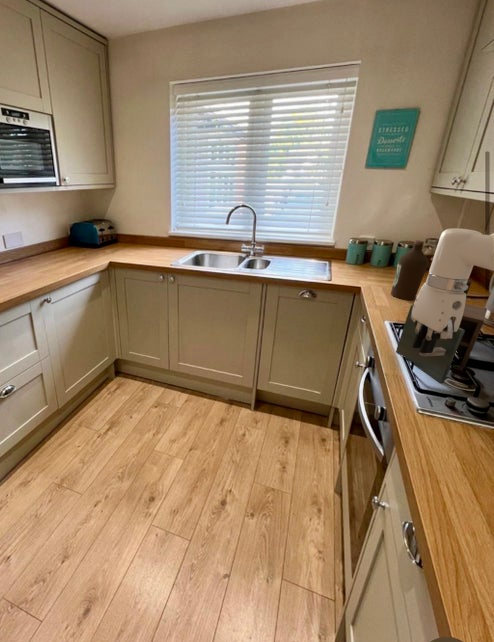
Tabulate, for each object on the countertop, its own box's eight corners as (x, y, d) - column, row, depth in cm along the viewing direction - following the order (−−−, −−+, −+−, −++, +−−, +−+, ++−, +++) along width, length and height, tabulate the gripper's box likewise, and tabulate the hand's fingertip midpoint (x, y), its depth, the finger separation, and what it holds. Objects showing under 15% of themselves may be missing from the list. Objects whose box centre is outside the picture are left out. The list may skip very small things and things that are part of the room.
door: (419, 384, 86) (439, 331, 80) (377, 352, 101) (391, 305, 94) (443, 383, 87) (465, 330, 81) (398, 351, 102) (413, 304, 96)
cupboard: (462, 372, 92) (484, 320, 86) (397, 351, 102) (413, 303, 96) (465, 356, 101) (485, 308, 94) (405, 338, 110) (420, 293, 104)
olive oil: (416, 295, 150) (434, 240, 140) (416, 302, 141) (435, 245, 132) (389, 290, 155) (405, 237, 145) (388, 297, 147) (404, 241, 137)
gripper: (491, 294, 71) (461, 367, 78) (434, 272, 85) (413, 335, 92) (459, 294, 70) (431, 367, 77) (407, 272, 85) (388, 335, 92)
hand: (422, 349), depth 85 cm, fingers closed on door
